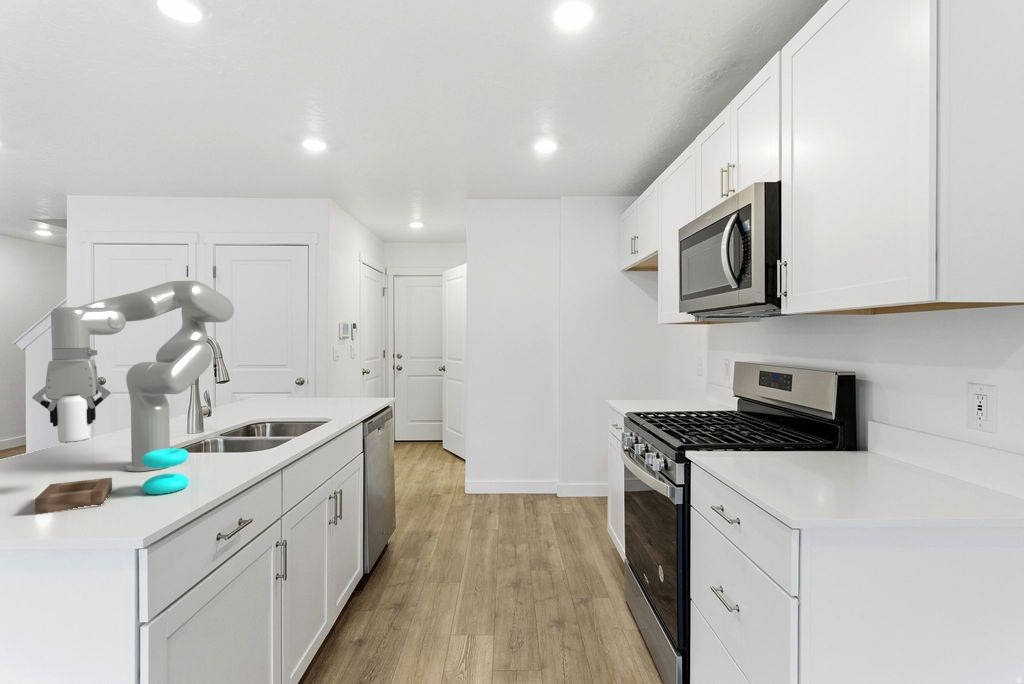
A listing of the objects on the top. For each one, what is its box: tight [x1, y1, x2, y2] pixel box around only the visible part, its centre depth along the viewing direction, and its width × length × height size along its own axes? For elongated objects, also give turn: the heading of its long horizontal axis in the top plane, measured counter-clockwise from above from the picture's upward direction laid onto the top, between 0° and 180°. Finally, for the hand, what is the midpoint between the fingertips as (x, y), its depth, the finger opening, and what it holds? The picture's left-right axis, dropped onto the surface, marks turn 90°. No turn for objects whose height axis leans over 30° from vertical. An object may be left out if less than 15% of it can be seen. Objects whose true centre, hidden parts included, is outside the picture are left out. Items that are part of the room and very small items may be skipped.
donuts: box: [142, 447, 190, 495], centre depth 134 cm, size 10×10×10 cm
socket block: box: [34, 477, 113, 515], centre depth 124 cm, size 12×13×4 cm
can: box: [57, 395, 91, 444], centre depth 134 cm, size 6×6×12 cm
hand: (73, 423), depth 134 cm, fingers closed on can, 6 cm apart
